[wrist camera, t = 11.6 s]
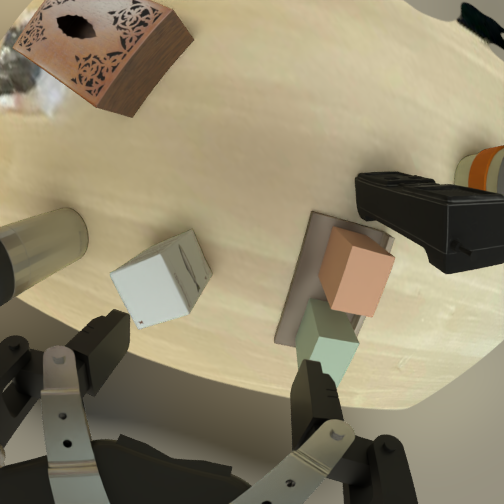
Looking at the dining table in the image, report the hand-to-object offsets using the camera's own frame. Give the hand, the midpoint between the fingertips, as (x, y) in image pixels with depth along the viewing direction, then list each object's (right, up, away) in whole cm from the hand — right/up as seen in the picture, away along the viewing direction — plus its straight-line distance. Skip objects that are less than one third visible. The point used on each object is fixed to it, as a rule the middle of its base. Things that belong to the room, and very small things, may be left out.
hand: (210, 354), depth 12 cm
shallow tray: (+13, -1, +29) cm, 31 cm away
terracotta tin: (+14, +4, +26) cm, 29 cm away
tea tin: (+11, -6, +29) cm, 31 cm away
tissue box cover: (-21, +37, +21) cm, 47 cm away
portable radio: (+20, +12, +24) cm, 34 cm away
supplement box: (-8, +3, +29) cm, 31 cm away
